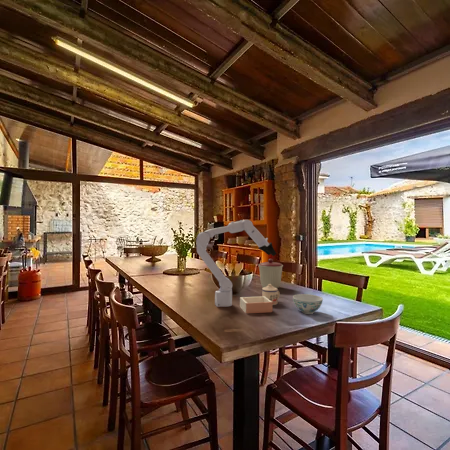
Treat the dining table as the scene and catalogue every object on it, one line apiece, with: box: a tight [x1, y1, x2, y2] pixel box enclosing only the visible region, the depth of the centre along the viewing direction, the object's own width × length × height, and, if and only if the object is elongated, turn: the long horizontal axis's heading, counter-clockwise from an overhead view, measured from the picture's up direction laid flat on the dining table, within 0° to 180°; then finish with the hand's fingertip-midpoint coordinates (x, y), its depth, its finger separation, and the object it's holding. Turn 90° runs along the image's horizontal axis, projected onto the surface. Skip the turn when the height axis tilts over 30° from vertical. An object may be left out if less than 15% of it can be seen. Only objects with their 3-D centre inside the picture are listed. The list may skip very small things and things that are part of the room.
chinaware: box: [292, 293, 324, 315], centre depth 150 cm, size 15×15×8 cm
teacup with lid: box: [261, 284, 281, 306], centre depth 165 cm, size 12×9×12 cm
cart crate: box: [239, 295, 272, 314], centre depth 151 cm, size 14×12×6 cm
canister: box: [258, 258, 284, 289], centre depth 210 cm, size 18×18×21 cm
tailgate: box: [245, 302, 273, 314], centre depth 145 cm, size 14×1×5 cm, turn 101°
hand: (272, 254), depth 164 cm, fingers open, 7 cm apart
